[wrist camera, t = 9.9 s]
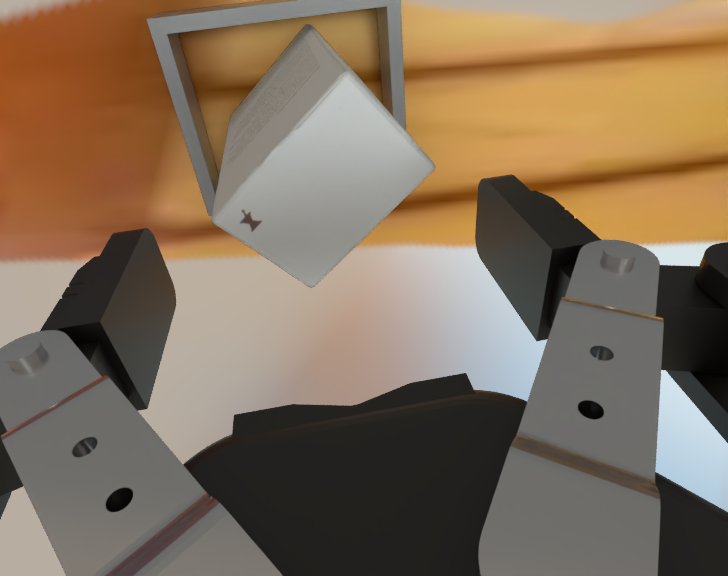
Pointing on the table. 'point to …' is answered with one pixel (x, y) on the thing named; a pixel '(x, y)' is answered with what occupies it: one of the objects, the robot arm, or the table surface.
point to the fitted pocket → (276, 5)
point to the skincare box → (312, 162)
